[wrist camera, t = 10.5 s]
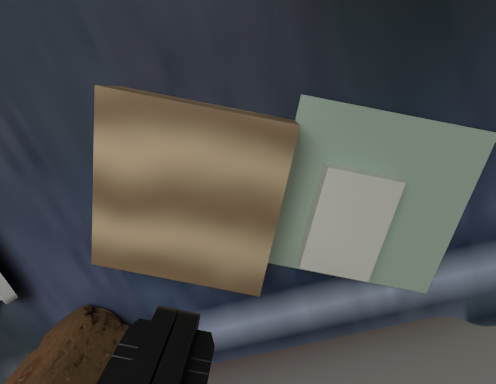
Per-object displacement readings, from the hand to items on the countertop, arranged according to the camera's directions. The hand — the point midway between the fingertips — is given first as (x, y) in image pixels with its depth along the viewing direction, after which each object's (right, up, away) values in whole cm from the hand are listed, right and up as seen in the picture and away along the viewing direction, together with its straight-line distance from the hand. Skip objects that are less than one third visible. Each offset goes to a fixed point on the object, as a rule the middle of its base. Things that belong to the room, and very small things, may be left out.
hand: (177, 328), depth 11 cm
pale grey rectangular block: (+11, +2, +13) cm, 17 cm away
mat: (+13, +4, +15) cm, 20 cm away
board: (-2, +5, +15) cm, 16 cm away
